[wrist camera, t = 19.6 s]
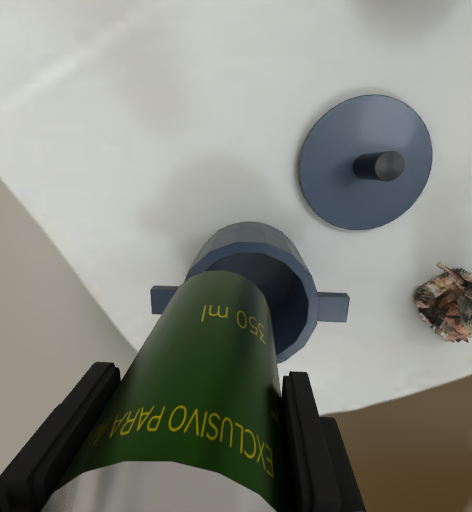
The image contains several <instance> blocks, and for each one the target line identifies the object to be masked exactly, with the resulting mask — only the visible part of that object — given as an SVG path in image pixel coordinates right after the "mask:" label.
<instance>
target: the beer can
mask: <svg viewBox="0 0 472 512" xmlns="http://www.w3.org/2000/svg"><path fill="white" fill-rule="evenodd" d="M41 512H296V505H295V498H294V490H293V483H292V475H291V467H290V460H289V452H288V444H287V437H286V429H285V421H284V414H283V406H282V398H281V391H280V383H279V376H278V368H277V360H276V353H275V345H274V337H273V330H272V322H271V314H270V309H269V306H268V304H267V301H266V298H265V296H264V294H263V293H262V292H261V291H260V290H259V289H258V287H257V286H256V285H255V284H254V283H253V282H251V281H250V280H248V279H246V278H245V277H243V276H242V275H240V274H236V273H232V272H229V271H225V270H217V271H205V272H203V273H200V274H197V275H194V276H192V277H190V278H189V279H188V280H187V281H185V282H184V283H183V284H182V285H180V286H179V288H178V289H177V291H176V293H175V294H174V296H173V297H172V299H171V300H170V302H169V304H168V305H167V307H166V309H165V310H164V312H163V314H162V315H161V317H160V318H159V320H158V322H157V323H156V325H155V327H154V328H153V330H152V331H151V333H150V335H149V336H148V338H147V340H146V341H145V343H144V345H143V346H142V348H141V349H140V351H139V353H138V354H137V356H136V358H135V359H134V361H133V363H132V364H131V366H130V367H129V369H128V371H127V372H126V374H125V376H124V377H123V379H122V381H121V382H120V384H119V385H118V387H117V389H116V390H115V392H114V393H113V395H112V397H111V398H110V400H109V402H108V403H107V405H106V407H105V408H104V410H103V411H102V413H101V415H100V416H99V418H98V420H97V421H96V423H95V424H94V426H93V428H92V429H91V431H90V433H89V434H88V436H87V438H86V439H85V441H84V442H83V444H82V446H81V447H80V449H79V451H78V452H77V454H76V455H75V457H74V459H73V460H72V462H71V464H70V465H69V467H68V468H67V470H66V472H65V473H64V475H63V477H62V478H61V480H60V482H59V483H58V485H57V486H56V488H55V490H54V491H53V493H52V495H51V496H50V498H49V499H48V501H47V503H46V504H45V506H44V508H43V509H42V511H41Z"/></svg>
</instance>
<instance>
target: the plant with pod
mask: <svg viewBox="0 0 472 512" xmlns="http://www.w3.org/2000/svg"><path fill="white" fill-rule="evenodd" d="M436 265H437V266H438V267H439V268H441V269H442V270H443V271H446V273H445V274H442V275H440V276H436V281H435V280H433V279H431V282H428V283H429V284H427V283H426V286H425V285H423V286H420V289H421V290H418V289H417V293H416V294H415V297H414V298H415V299H414V300H415V301H416V302H415V304H416V306H417V307H418V310H419V313H420V315H419V316H422V322H423V321H424V322H426V323H427V324H429V325H430V327H431V328H435V333H436V334H442V338H443V337H444V339H445V341H451V342H454V340H455V341H457V342H460V341H461V340H464V341H466V342H468V339H467V337H470V338H471V334H472V275H471V274H470V273H469V274H467V271H466V272H464V270H463V271H462V268H461V269H460V270H459V269H456V270H454V269H453V270H452V269H449V268H447V267H445V266H443V265H442V264H441V263H440V262H437V263H436Z"/></svg>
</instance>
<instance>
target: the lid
mask: <svg viewBox="0 0 472 512" xmlns="http://www.w3.org/2000/svg"><path fill="white" fill-rule="evenodd" d="M431 164H432V145H431V139H430V136H429V132H428V130H427V128H426V126H425V124H424V122H423V121H422V119H421V118H420V116H419V115H418V114H417V113H416V112H415V111H414V110H413V109H412V108H411V107H409V106H408V105H407V104H405V103H403V102H402V101H400V100H397V99H395V98H392V97H388V96H384V95H364V96H359V97H355V98H352V99H349V100H346V101H344V102H342V103H340V104H338V105H337V106H335V107H334V108H332V109H331V110H329V111H328V112H327V113H326V114H325V115H324V116H322V117H321V118H320V120H319V121H318V122H317V123H316V124H315V125H314V127H313V128H312V130H311V131H310V133H309V134H308V136H307V138H306V140H305V143H304V145H303V148H302V151H301V155H300V160H299V181H300V185H301V189H302V192H303V195H304V197H305V199H306V201H307V202H308V204H309V206H310V207H311V208H312V209H313V211H314V212H315V213H316V214H317V215H318V216H320V217H321V218H322V219H324V220H325V221H327V222H328V223H330V224H332V225H335V226H337V227H340V228H344V229H349V230H367V229H373V228H376V227H380V226H382V225H385V224H387V223H389V222H391V221H393V220H395V219H396V218H398V217H399V216H400V215H402V214H403V213H404V212H405V211H407V210H408V209H409V208H410V207H411V206H412V205H413V203H414V202H415V201H416V200H417V198H418V197H419V196H420V194H421V192H422V191H423V189H424V187H425V185H426V182H427V180H428V177H429V174H430V170H431Z"/></svg>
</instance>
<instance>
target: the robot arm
mask: <svg viewBox="0 0 472 512" xmlns="http://www.w3.org/2000/svg"><path fill="white" fill-rule="evenodd" d="M120 382H121V379H120V370H119V368H118V367H115V365H114V363H108V362H95V363H94V364H93V365H92V366H91V368H90V369H89V370H88V371H87V372H86V374H85V375H84V376H83V377H82V379H81V380H80V381H79V382H78V383H77V385H76V386H75V387H74V388H73V390H72V391H71V392H70V393H69V395H68V396H67V397H66V398H65V400H64V401H63V402H62V403H61V404H59V405H58V406H57V407H56V408H55V409H54V410H53V412H52V413H51V414H50V415H49V416H48V418H47V419H46V420H45V421H44V422H43V424H42V425H41V426H40V427H39V429H38V430H37V431H36V432H35V433H34V435H33V436H32V437H31V438H30V440H29V441H28V442H27V443H26V445H25V446H24V447H23V448H22V449H21V451H20V452H19V453H18V454H17V456H16V457H15V458H14V459H13V460H12V462H11V463H10V464H9V465H8V467H7V468H6V469H5V470H4V471H3V473H2V474H1V475H0V512H41V511H42V509H43V508H44V506H45V504H46V503H47V501H48V499H49V498H50V496H51V495H52V493H53V491H54V490H55V488H56V486H57V485H58V483H59V482H60V480H61V478H62V477H63V475H64V473H65V472H66V470H67V468H68V467H69V465H70V464H71V462H72V460H73V459H74V457H75V455H76V454H77V452H78V451H79V449H80V447H81V446H82V444H83V442H84V441H85V439H86V438H87V436H88V434H89V433H90V431H91V429H92V428H93V426H94V424H95V423H96V421H97V420H98V418H99V416H100V415H101V413H102V411H103V410H104V408H105V407H106V405H107V403H108V402H109V400H110V398H111V397H112V395H113V393H114V392H115V390H116V389H117V387H118V385H119V384H120ZM282 406H283V414H284V421H285V429H286V437H287V444H288V452H289V460H290V467H291V475H292V483H293V490H294V498H295V505H296V512H366V509H365V507H364V503H363V500H362V497H361V494H360V491H359V488H358V486H357V482H356V479H355V476H354V473H353V470H352V467H351V465H350V461H349V458H348V455H347V453H346V449H345V446H344V443H343V440H342V438H341V434H340V431H339V428H338V425H337V423H336V421H335V419H334V418H330V417H329V418H328V417H319V414H318V410H317V407H316V403H315V399H314V396H313V392H312V388H311V385H310V381H309V377H308V374H307V372H292V371H290V373H289V376H283V386H282Z"/></svg>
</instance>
